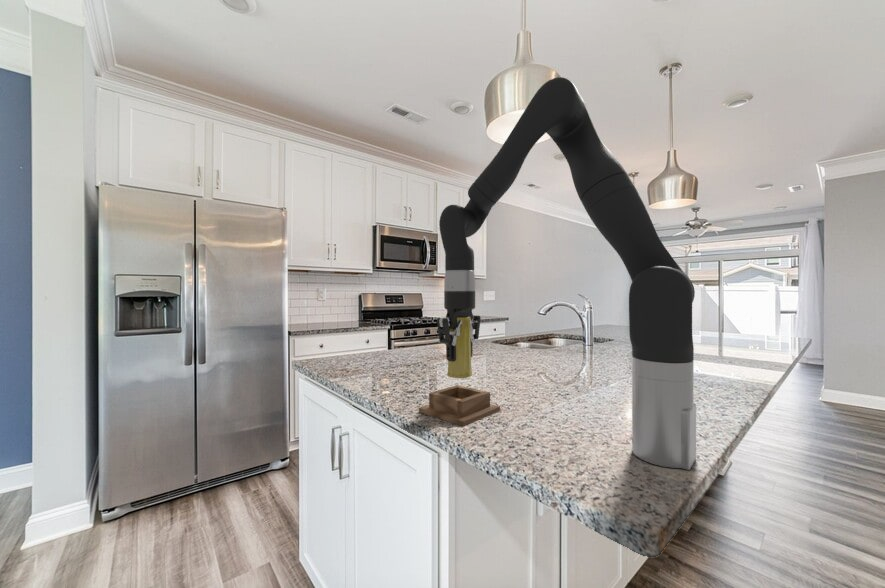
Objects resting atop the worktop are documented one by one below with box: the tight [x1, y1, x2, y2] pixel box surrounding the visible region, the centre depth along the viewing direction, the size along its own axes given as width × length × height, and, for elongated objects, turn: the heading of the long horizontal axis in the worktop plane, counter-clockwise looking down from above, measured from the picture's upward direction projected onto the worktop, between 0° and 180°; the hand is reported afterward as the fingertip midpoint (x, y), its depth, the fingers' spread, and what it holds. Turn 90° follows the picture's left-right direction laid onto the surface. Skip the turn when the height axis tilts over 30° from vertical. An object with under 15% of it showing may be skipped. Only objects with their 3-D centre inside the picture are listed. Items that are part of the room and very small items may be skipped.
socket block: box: [418, 384, 501, 427], centre depth 89 cm, size 14×14×4 cm
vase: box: [446, 317, 473, 379], centre depth 89 cm, size 6×6×14 cm
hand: (459, 359), depth 89 cm, fingers closed on vase, 5 cm apart
